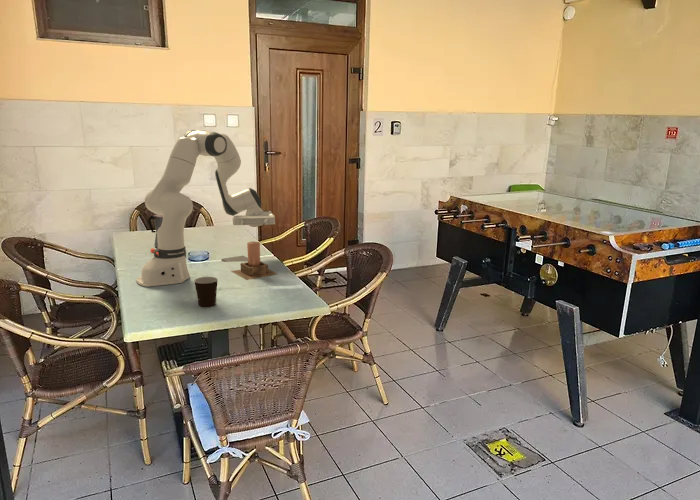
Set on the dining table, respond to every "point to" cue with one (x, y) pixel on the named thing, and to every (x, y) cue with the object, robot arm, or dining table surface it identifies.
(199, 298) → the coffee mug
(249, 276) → the jug stand
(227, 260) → the mat
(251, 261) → the brown tall block piece
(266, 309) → the dining table surface
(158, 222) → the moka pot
